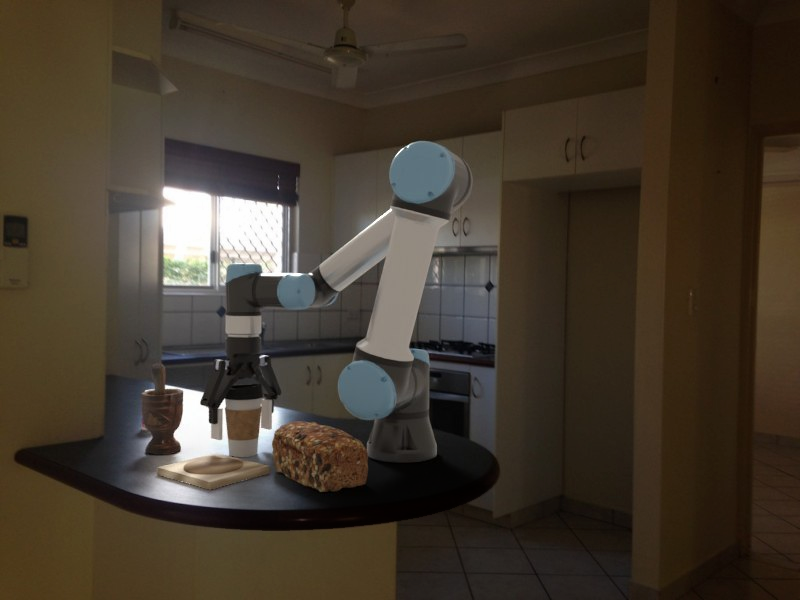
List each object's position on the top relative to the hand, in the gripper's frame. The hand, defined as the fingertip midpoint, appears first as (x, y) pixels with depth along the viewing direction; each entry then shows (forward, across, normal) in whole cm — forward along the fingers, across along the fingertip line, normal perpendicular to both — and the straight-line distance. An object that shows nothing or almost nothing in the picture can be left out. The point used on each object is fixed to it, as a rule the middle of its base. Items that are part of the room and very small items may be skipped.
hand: (242, 433), depth 149 cm
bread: (+4, +3, +26) cm, 27 cm away
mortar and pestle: (+5, +10, -14) cm, 18 cm away
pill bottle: (+5, -3, -38) cm, 38 cm away
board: (+4, +14, +8) cm, 17 cm away
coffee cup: (+5, 0, 0) cm, 5 cm away
